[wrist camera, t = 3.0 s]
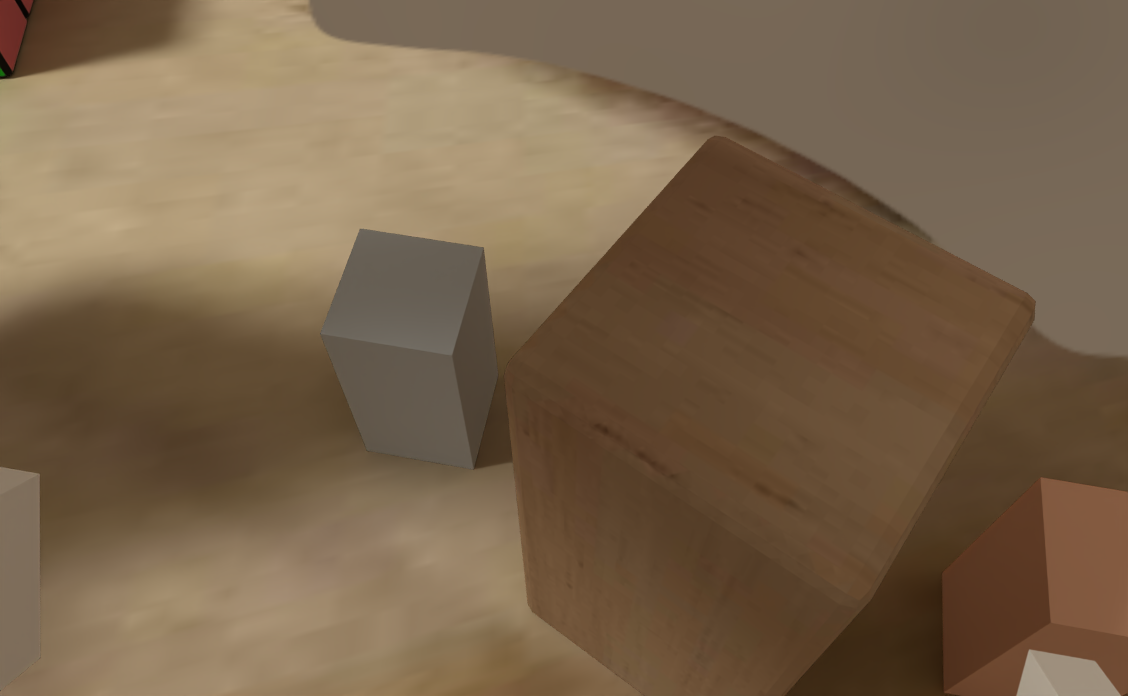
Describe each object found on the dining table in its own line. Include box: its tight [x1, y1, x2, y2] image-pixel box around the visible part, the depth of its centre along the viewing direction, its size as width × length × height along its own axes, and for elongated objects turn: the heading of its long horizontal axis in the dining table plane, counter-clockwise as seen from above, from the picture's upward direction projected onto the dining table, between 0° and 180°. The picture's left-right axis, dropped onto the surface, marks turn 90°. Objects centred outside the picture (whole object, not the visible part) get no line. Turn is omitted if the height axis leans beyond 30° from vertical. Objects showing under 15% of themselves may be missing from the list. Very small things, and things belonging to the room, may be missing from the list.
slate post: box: [320, 229, 498, 470], centre depth 41 cm, size 5×5×10 cm
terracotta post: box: [942, 477, 1128, 696], centre depth 36 cm, size 5×5×10 cm
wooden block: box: [504, 136, 1036, 696], centre depth 33 cm, size 10×10×20 cm
